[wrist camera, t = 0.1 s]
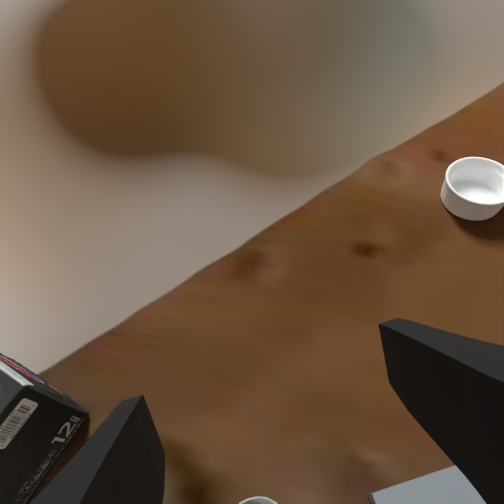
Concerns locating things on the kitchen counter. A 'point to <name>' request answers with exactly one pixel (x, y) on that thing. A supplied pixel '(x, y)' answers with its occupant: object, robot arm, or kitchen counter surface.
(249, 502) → the ceramic mug
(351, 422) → the kitchen counter surface
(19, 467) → the soda box
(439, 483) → the board
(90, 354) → the kitchen counter surface
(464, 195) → the ramekin
